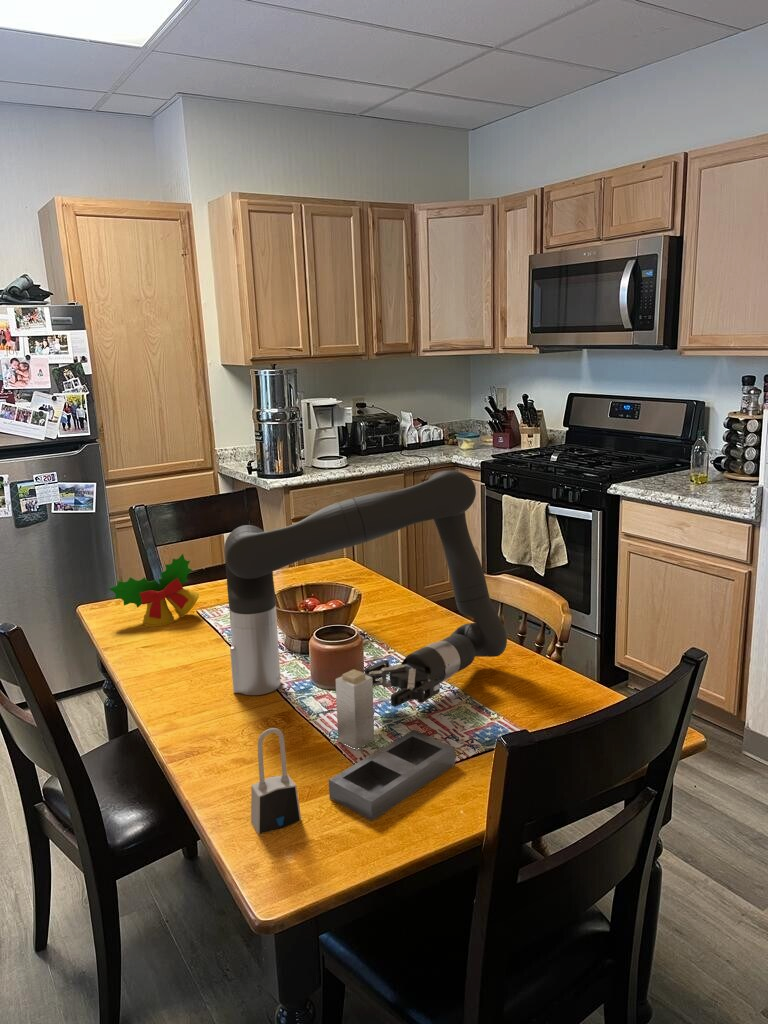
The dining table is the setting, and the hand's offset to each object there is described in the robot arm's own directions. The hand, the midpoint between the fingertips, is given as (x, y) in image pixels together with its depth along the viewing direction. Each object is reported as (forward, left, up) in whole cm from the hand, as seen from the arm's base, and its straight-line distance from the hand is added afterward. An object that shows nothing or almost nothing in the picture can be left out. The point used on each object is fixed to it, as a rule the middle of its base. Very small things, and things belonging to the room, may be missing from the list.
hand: (374, 694), depth 139 cm
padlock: (-16, -26, -7) cm, 31 cm away
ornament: (-54, +60, -7) cm, 81 cm away
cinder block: (+2, -17, -7) cm, 18 cm away
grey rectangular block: (-4, -4, -7) cm, 9 cm away
